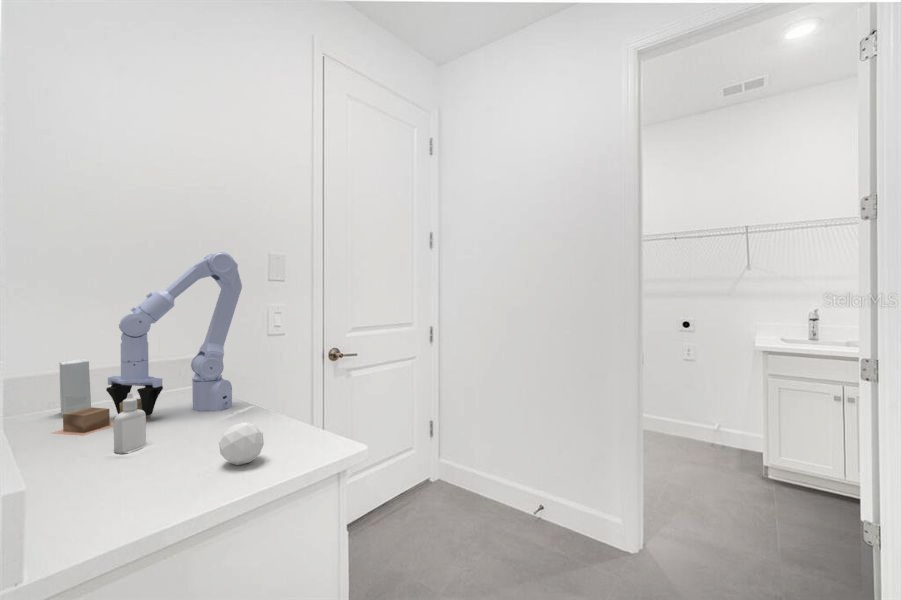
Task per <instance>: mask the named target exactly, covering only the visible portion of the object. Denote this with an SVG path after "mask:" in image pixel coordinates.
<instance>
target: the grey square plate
mask: <svg viewBox="0 0 901 600" xmlns="http://www.w3.org/2000/svg"><path fill="white" fill-rule="evenodd" d="M112 427H113V428H114V422H110V425H109V426H105V427H102V428H99V429H96V430H93V431H89V432H86V433H78V432H66V431H63V429H59V430H56V431H53V432H51V434H57V435H69V436H81V437H83V436H86V435H87V436H88V435H91V434H93V433H97V432H99V431H102V430H106V429H109V428H112Z"/></svg>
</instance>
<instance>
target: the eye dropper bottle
mask: <svg viewBox="0 0 901 600" xmlns="http://www.w3.org/2000/svg"><path fill="white" fill-rule="evenodd" d="M137 399H138V398H135V397H134V396H133V393H132V392H130V393H128V395H127V398H126V399H125V400H123V410H124V411H123V412H121V413H120V414H118V413H117V415H116V416H114V419H113V423H114V426H113V453H114V454H115V455H121V456H122V455H124V456H125V455H127V454H129V452H126V451H130V450H134V449H135V450H134V451H131V452H130V454H131V453H135V452H139V451H140V450H142V449H143V447H142V446H144V445H146V444H147V420H146V419H147V418H146V414H145V412H144V411H143V410H138V409H137ZM140 447H141V448H140ZM137 448H139V449H137Z"/></svg>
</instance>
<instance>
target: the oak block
mask: <svg viewBox="0 0 901 600" xmlns="http://www.w3.org/2000/svg"><path fill="white" fill-rule="evenodd" d="M136 399H137V409H138V410H142V403H141V398H136ZM123 411H124V410H123V402H121V403H120V413H121V412H123ZM151 416H152V414H151V415H147V416H146V419H148V418H150V417H151Z"/></svg>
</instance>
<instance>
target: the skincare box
mask: <svg viewBox="0 0 901 600" xmlns="http://www.w3.org/2000/svg"><path fill="white" fill-rule="evenodd" d="M58 364H59V397H60V399H59V400H60V413H61V416H62V417H63V414H65V413H69V412H73V411H77V410H81V409H85V408H89V407H91V408H92V399H91V398H92V397H91V381H90V379H91V377H90V376H91V375H90V361H89V360H88V359H86V358H82V359H81V358H80V359H74V360H73V359H72V360H64V361H59V363H58Z"/></svg>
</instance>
